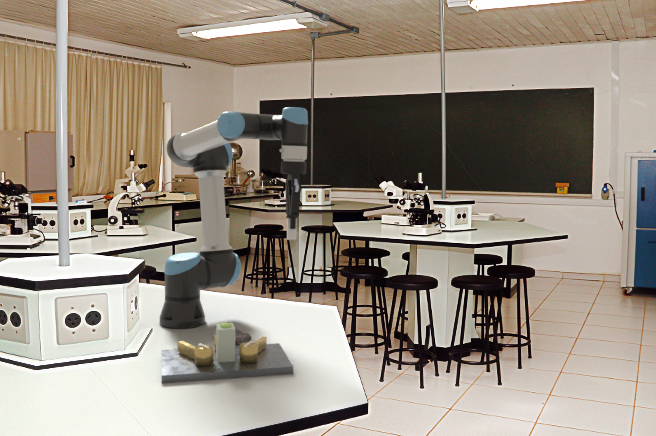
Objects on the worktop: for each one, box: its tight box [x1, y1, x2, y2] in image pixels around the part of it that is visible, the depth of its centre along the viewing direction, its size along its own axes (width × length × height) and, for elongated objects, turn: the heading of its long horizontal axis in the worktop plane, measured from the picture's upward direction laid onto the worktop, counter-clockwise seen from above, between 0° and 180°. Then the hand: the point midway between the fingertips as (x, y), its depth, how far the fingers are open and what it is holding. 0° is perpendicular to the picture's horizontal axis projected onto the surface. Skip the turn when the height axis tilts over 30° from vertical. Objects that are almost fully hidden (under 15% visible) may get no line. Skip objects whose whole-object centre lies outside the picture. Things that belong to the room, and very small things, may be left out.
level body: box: [215, 322, 236, 362], centre depth 167 cm, size 6×5×10 cm
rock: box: [212, 328, 252, 346], centre depth 185 cm, size 8×11×5 cm
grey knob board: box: [160, 335, 294, 384], centre depth 167 cm, size 20×34×6 cm, turn 105°
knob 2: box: [239, 336, 268, 362], centre depth 170 cm, size 14×5×5 cm, turn 165°
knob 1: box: [177, 340, 214, 365], centre depth 166 cm, size 14×5×5 cm, turn 45°
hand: (291, 239), depth 182 cm, fingers closed
